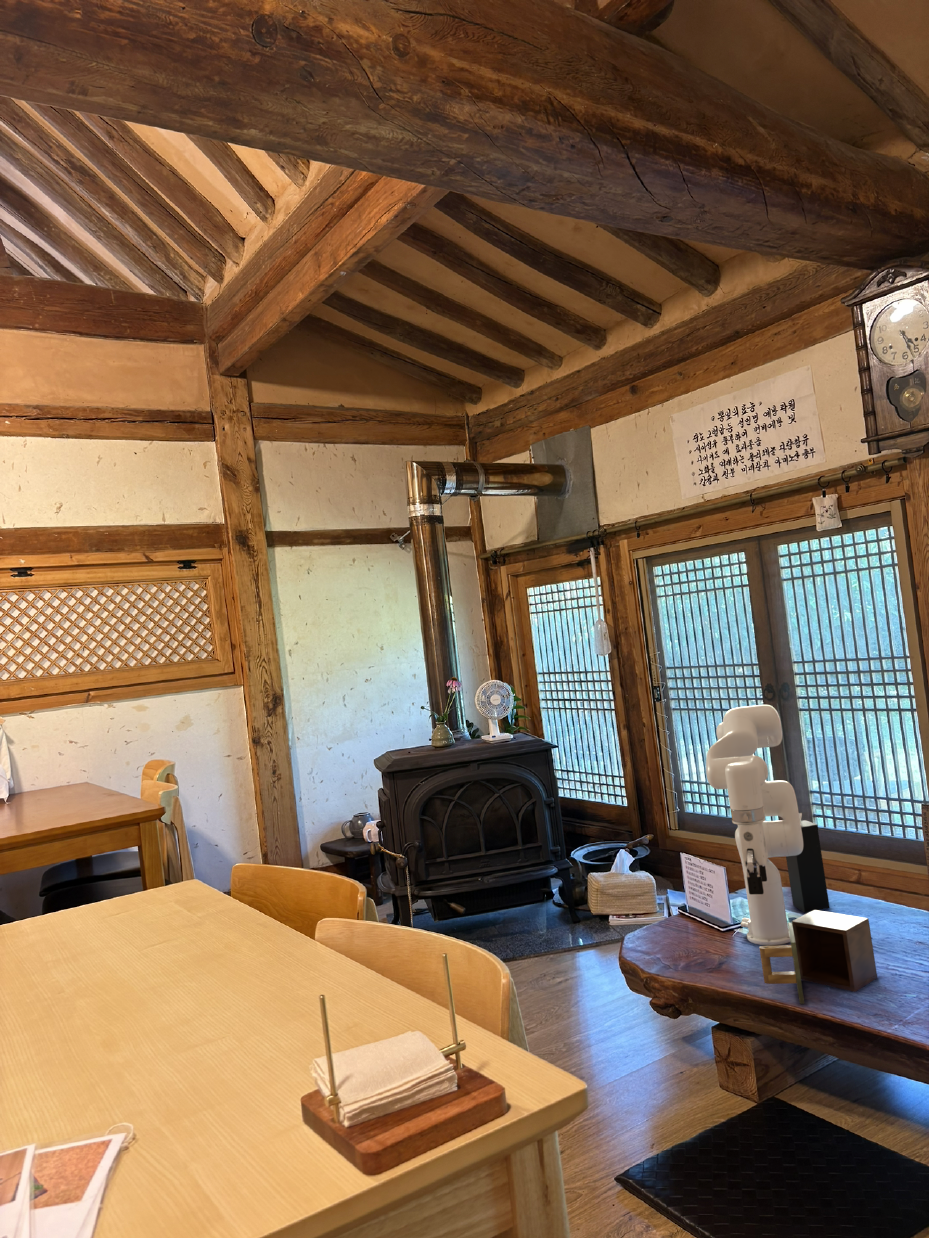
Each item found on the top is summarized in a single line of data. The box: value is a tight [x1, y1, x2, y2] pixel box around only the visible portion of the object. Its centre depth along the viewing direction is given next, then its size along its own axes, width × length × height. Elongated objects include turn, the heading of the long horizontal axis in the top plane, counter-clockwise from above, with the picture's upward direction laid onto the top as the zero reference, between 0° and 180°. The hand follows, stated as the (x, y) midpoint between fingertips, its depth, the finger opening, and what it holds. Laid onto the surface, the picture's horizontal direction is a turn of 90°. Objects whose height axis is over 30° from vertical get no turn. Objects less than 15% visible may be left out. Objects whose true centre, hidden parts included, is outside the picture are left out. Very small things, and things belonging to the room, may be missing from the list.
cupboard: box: [791, 910, 878, 993], centre depth 213 cm, size 10×14×14 cm
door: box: [758, 922, 806, 1005], centre depth 209 cm, size 8×14×14 cm, turn 163°
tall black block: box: [785, 812, 831, 913], centre depth 267 cm, size 8×8×28 cm
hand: (758, 887), depth 211 cm, fingers open, 9 cm apart
